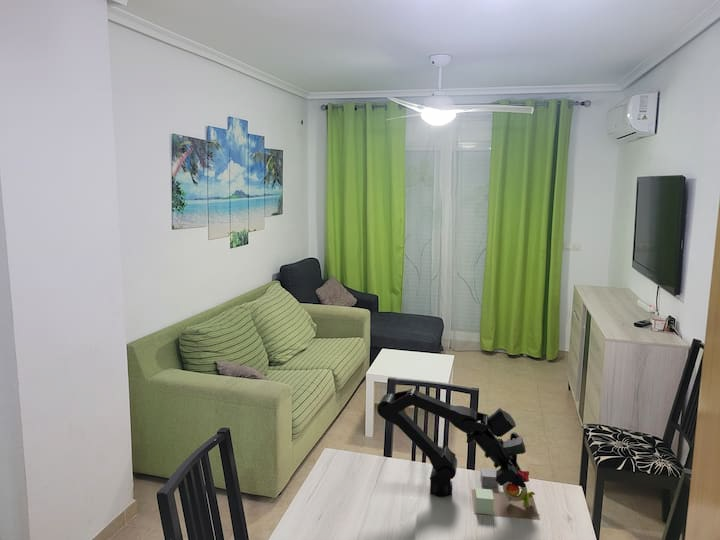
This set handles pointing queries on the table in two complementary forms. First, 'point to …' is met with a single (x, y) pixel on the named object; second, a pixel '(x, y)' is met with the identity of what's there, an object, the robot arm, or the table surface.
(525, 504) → the bird rattle
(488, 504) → the sage block
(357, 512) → the table surface
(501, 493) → the walnut board
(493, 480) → the grey block
